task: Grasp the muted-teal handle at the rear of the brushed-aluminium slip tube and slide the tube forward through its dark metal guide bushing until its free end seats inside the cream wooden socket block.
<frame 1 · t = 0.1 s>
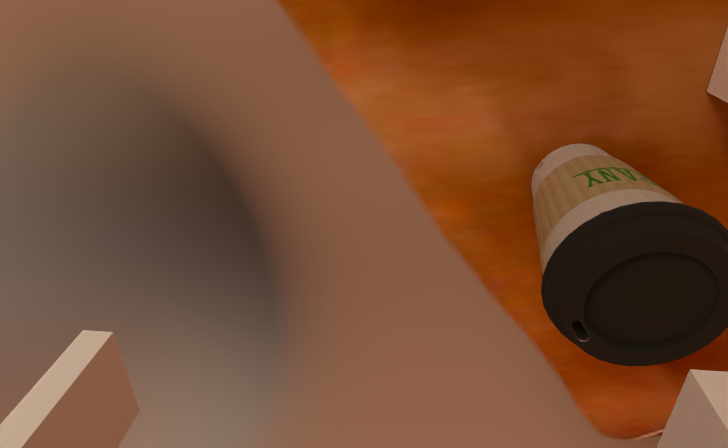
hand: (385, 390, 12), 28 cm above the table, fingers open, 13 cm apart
coffee cup: (572, 180, 38), on the table
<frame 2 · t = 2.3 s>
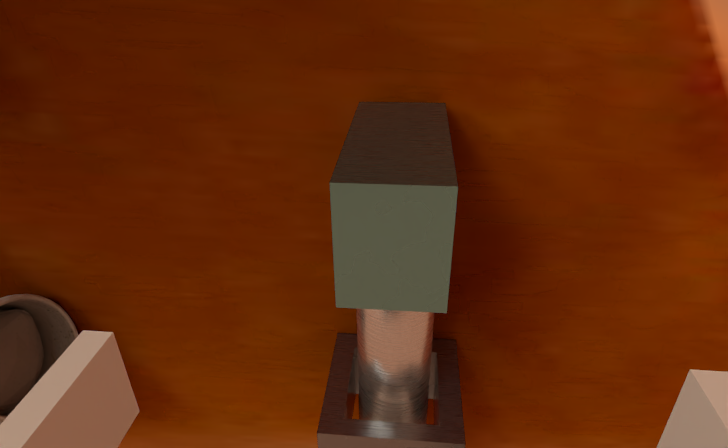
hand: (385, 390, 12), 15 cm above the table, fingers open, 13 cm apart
guide bushing: (395, 359, 32), on the table
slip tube: (394, 327, 24), point 5 cm above the table, slide at 0.0 cm
ceramic mug: (40, 336, 35), on the table
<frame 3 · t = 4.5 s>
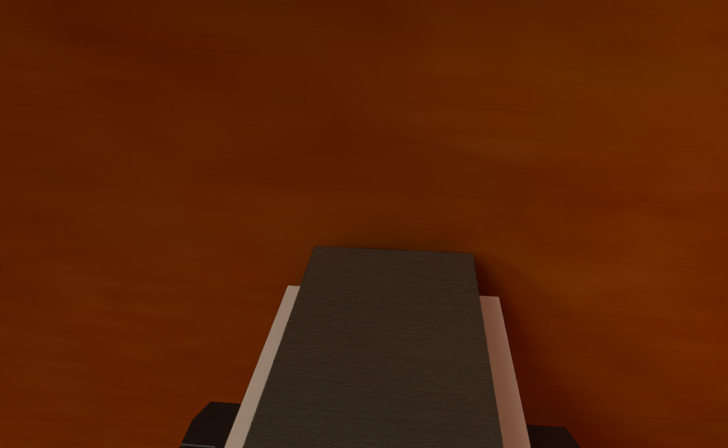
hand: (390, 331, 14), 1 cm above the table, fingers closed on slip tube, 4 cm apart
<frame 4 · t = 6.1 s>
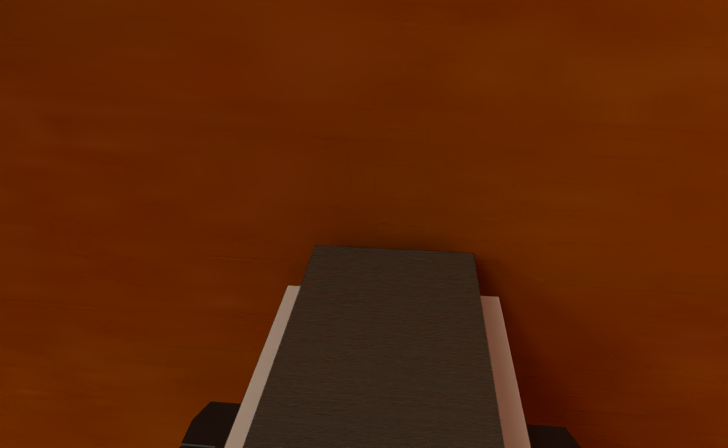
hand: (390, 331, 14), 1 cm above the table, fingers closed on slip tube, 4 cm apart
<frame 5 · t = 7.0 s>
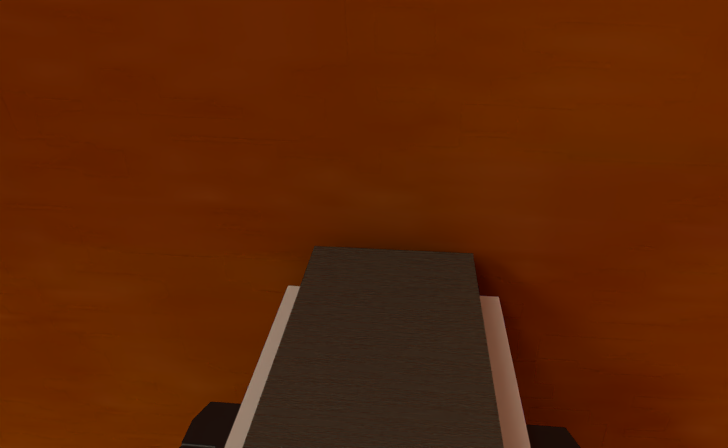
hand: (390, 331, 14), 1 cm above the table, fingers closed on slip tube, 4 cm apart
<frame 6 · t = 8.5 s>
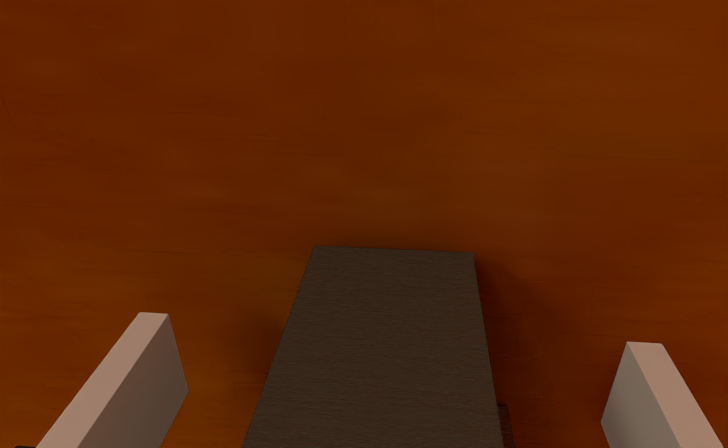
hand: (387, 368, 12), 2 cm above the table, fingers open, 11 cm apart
guide bushing: (389, 438, 17), on the table
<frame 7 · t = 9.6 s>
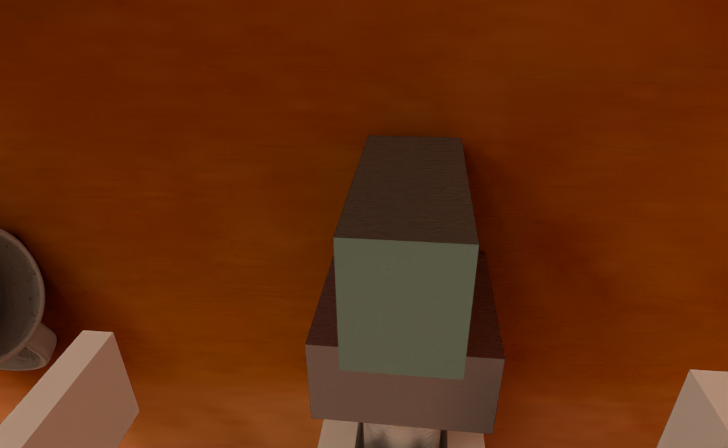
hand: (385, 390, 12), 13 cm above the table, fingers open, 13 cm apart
guide bushing: (408, 281, 26), on the table
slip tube: (403, 379, 22), point 5 cm above the table, slide at 9.0 cm
socket block: (402, 427, 31), on the table
ceramic mug: (0, 282, 30), on the table
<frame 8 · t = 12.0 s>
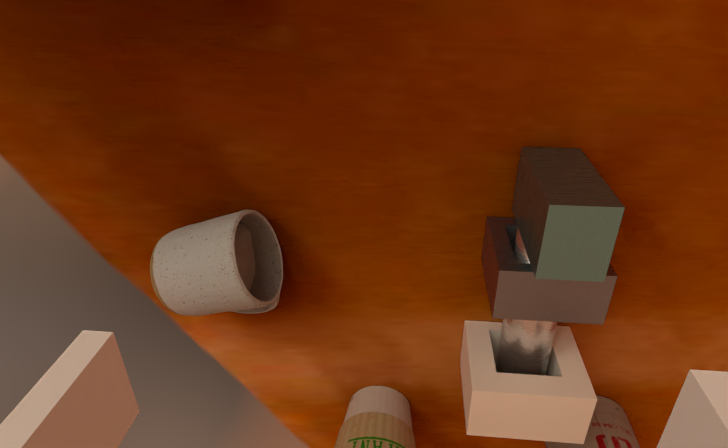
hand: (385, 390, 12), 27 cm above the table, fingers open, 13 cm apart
guide bushing: (531, 240, 40), on the table
coffee cup: (379, 405, 51), on the table
thermos bottle: (582, 420, 49), on the table
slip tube: (541, 297, 36), point 5 cm above the table, slide at 9.0 cm
socket block: (512, 344, 45), on the table
ceramic mug: (243, 252, 43), on the table
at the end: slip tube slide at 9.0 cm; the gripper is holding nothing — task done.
